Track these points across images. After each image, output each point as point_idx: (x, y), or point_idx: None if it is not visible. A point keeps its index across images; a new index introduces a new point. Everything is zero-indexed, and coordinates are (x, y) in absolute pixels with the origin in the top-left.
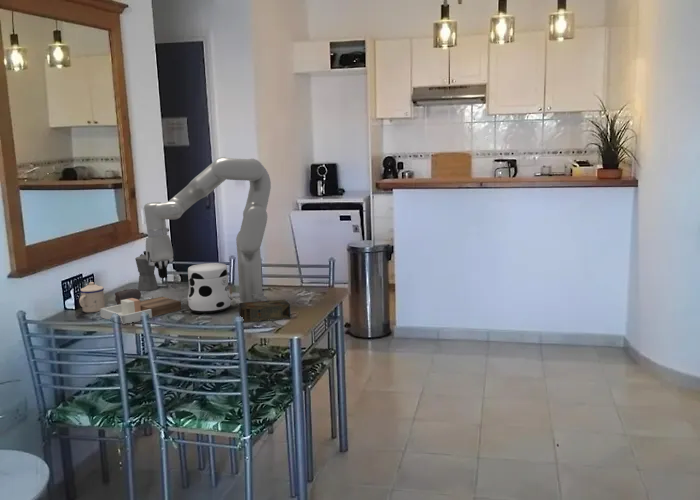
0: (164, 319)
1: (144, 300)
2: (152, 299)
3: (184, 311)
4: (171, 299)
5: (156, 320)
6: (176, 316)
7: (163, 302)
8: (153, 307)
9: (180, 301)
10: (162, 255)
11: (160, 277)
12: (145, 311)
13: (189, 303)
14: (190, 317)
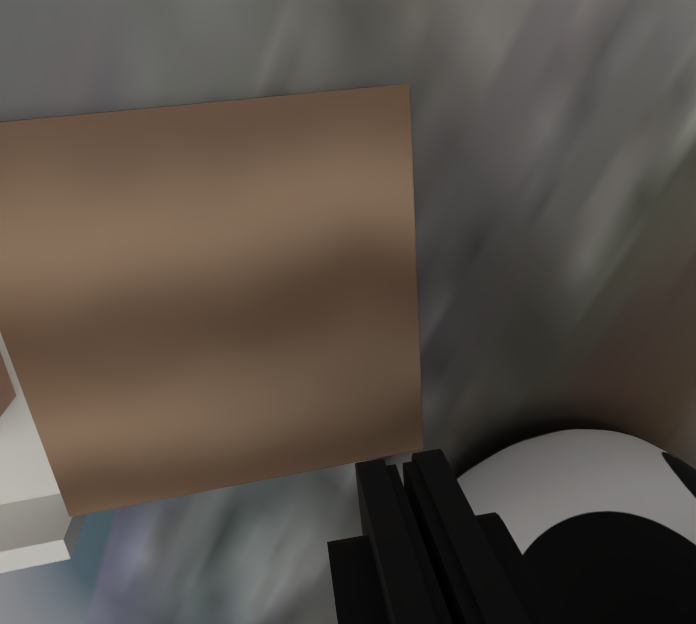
0: (167, 575)
1: (135, 112)
2: (243, 145)
3: (390, 461)
4: (405, 314)
5: (104, 569)
6: (275, 551)
7: (280, 381)
8: (114, 506)
9: (420, 449)
10: None
11: (359, 491)
12: (4, 568)
13: None
14: (335, 618)
